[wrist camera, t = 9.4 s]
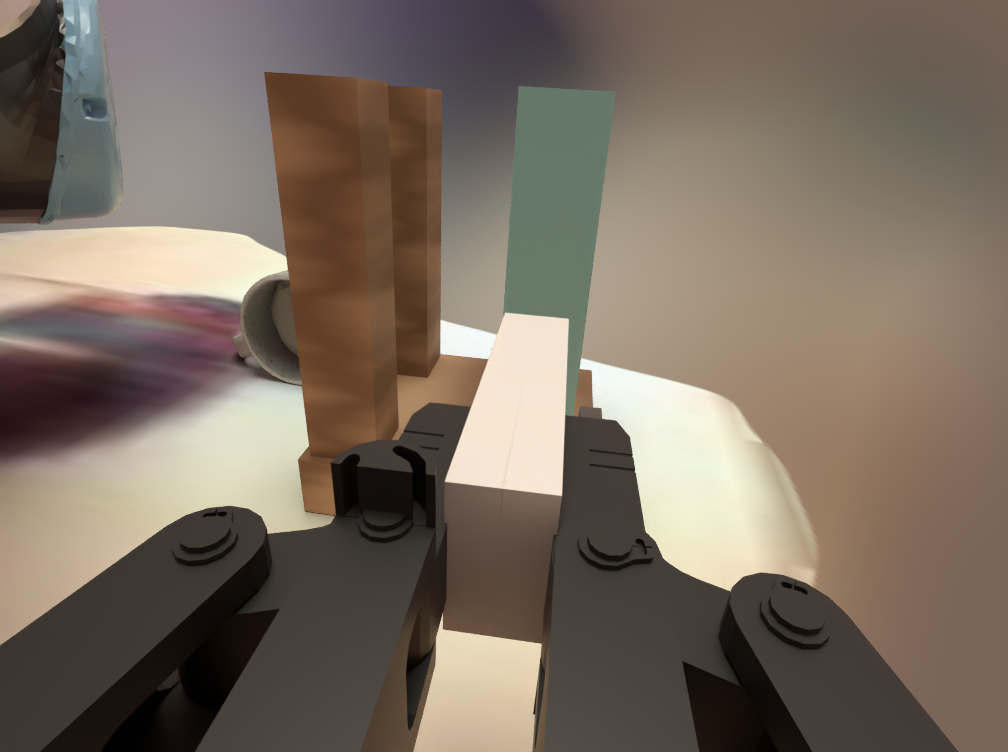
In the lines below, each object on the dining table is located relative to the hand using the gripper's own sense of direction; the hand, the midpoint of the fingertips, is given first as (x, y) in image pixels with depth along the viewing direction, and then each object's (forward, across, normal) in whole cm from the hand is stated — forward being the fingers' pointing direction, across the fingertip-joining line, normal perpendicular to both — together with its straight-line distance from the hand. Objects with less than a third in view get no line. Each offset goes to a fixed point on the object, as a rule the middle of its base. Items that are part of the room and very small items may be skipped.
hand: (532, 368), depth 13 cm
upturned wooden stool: (+14, -4, -12) cm, 19 cm away
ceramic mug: (+23, -18, -12) cm, 32 cm away
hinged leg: (+9, 0, -9) cm, 13 cm away
